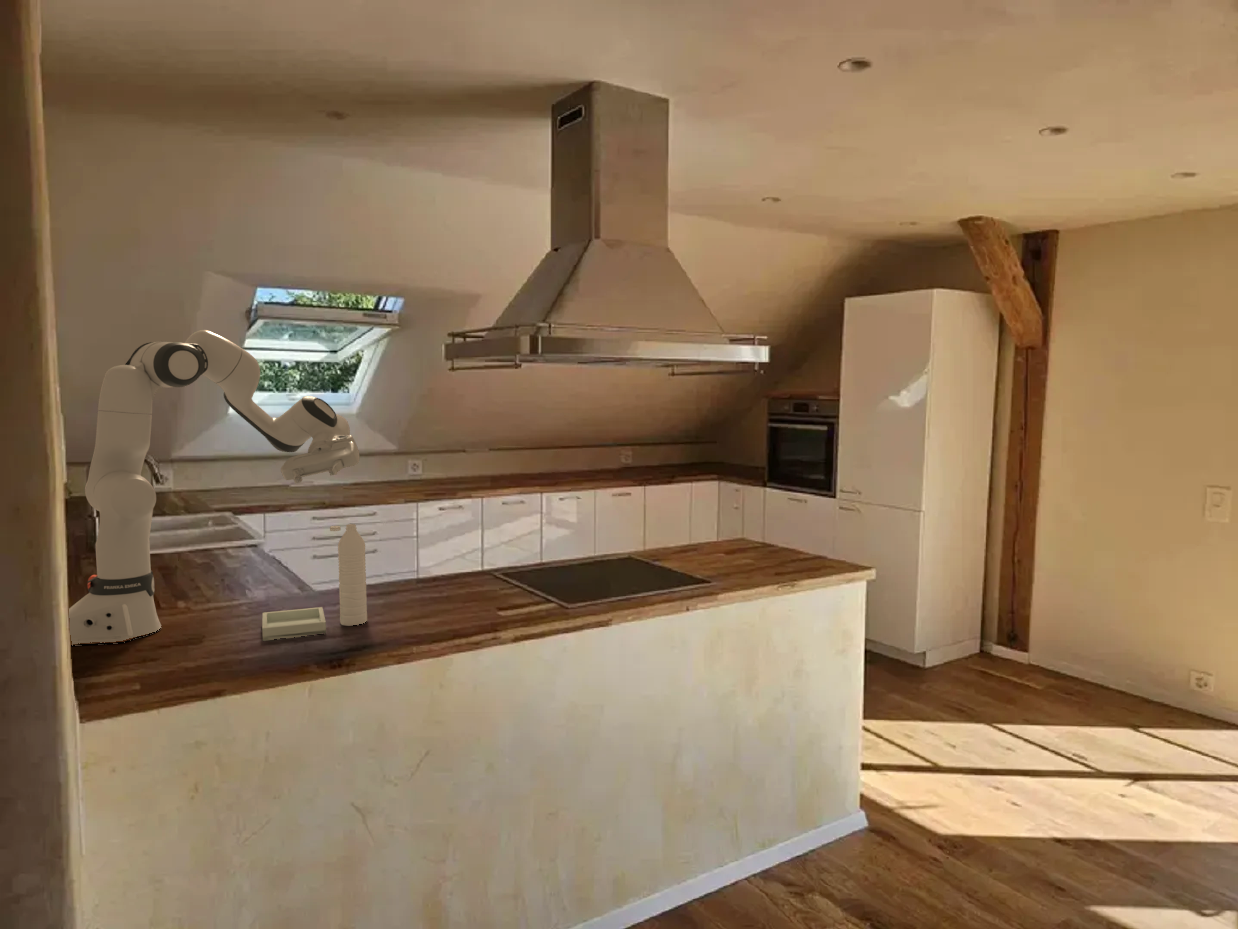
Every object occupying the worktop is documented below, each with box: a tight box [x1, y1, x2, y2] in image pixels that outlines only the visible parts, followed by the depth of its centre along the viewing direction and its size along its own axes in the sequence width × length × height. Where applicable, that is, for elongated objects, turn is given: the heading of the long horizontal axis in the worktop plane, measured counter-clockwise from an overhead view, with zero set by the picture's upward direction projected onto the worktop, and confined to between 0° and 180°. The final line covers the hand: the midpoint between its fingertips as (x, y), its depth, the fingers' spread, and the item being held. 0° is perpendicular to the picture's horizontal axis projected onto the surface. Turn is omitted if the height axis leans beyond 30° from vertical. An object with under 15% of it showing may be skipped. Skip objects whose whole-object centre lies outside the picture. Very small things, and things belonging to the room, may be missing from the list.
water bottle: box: [329, 523, 368, 627], centre depth 209 cm, size 9×6×25 cm
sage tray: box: [261, 606, 327, 642], centre depth 205 cm, size 14×14×3 cm
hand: (314, 476), depth 218 cm, fingers open, 8 cm apart
